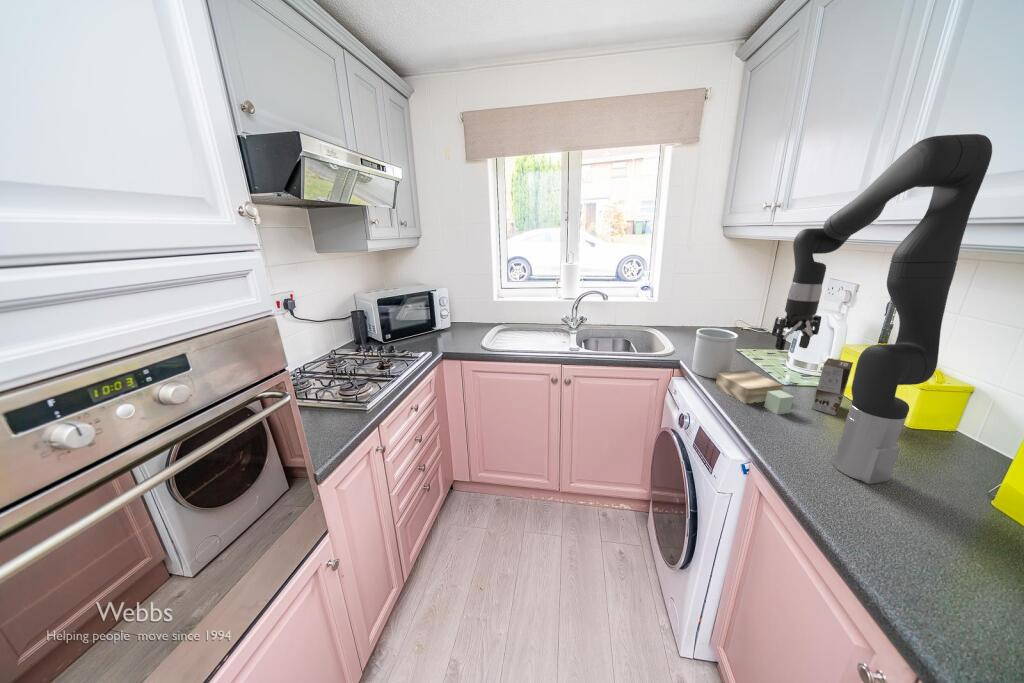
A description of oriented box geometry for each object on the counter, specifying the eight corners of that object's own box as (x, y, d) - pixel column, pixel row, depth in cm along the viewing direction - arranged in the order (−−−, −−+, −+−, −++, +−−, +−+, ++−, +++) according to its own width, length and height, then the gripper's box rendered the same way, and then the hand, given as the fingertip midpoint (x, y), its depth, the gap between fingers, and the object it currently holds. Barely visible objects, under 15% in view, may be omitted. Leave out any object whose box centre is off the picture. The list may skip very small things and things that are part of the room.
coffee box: (836, 416, 112) (850, 369, 107) (810, 408, 117) (822, 364, 112) (840, 406, 118) (854, 362, 113) (816, 400, 123) (828, 357, 118)
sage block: (790, 413, 115) (794, 396, 113) (776, 414, 114) (780, 398, 112) (776, 405, 120) (780, 390, 118) (763, 407, 119) (767, 391, 117)
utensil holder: (723, 366, 153) (730, 328, 148) (736, 380, 139) (744, 338, 134) (687, 364, 156) (692, 327, 151) (696, 378, 143) (702, 337, 137)
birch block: (778, 400, 124) (782, 384, 122) (744, 404, 121) (748, 389, 120) (746, 384, 137) (749, 369, 135) (715, 387, 135) (717, 373, 133)
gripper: (794, 301, 101) (782, 354, 106) (836, 298, 103) (822, 350, 108) (772, 296, 108) (761, 346, 113) (811, 294, 110) (799, 343, 115)
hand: (791, 348), depth 110 cm, fingers open, 8 cm apart
